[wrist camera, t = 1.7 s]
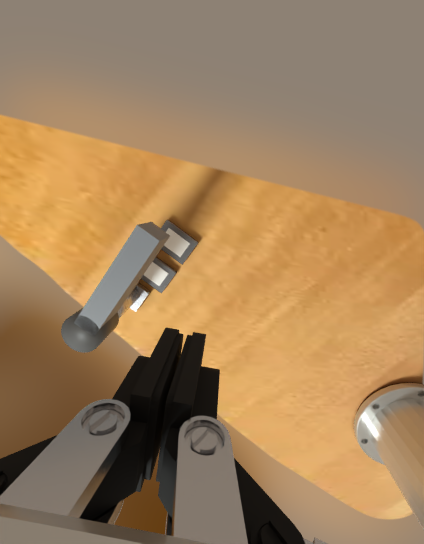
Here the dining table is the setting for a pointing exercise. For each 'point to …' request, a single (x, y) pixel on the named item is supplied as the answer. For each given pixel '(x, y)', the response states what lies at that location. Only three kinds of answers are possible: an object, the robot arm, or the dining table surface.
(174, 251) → the label plate
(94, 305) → the swing bar
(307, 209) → the dining table surface
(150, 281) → the label plate
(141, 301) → the bar post
